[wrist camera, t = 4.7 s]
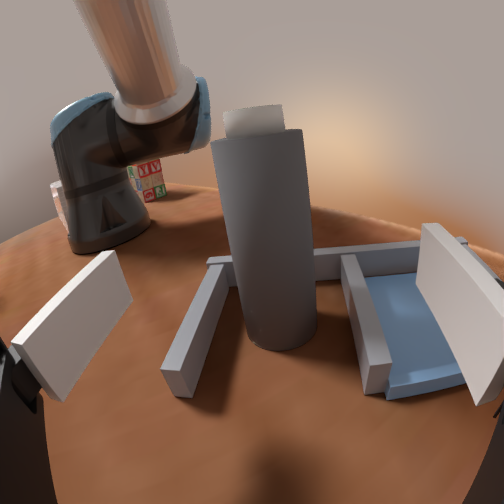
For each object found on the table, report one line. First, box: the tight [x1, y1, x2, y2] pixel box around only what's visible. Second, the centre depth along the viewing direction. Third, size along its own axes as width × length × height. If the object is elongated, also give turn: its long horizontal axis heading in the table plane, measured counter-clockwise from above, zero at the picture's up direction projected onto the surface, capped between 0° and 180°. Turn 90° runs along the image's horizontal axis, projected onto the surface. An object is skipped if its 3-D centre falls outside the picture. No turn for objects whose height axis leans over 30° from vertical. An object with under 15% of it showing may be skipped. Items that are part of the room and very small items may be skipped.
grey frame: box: [160, 237, 501, 400], centre depth 19 cm, size 14×24×2 cm, turn 83°
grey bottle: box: [210, 105, 317, 351], centre depth 18 cm, size 5×5×14 cm
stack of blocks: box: [127, 159, 167, 203], centre depth 72 cm, size 21×6×12 cm, turn 46°
